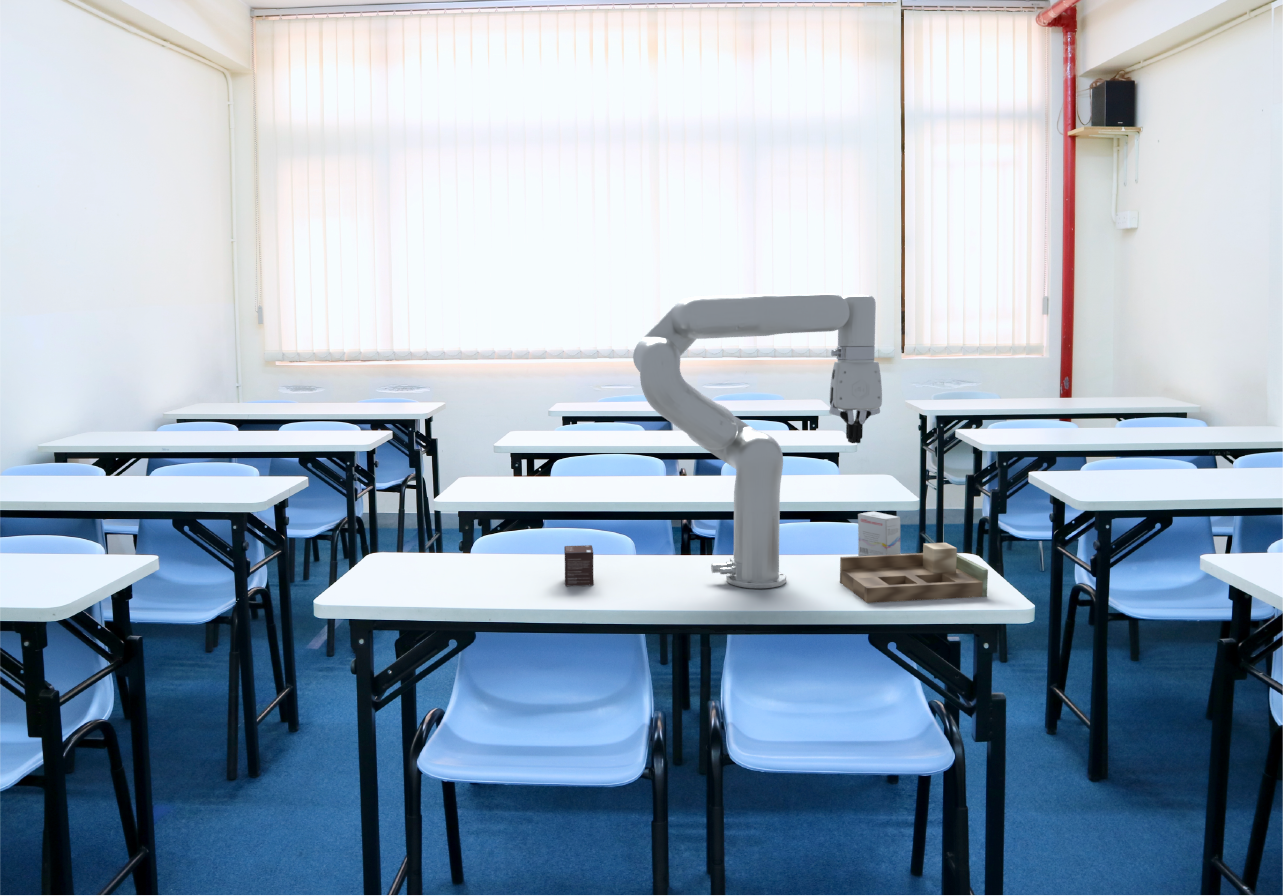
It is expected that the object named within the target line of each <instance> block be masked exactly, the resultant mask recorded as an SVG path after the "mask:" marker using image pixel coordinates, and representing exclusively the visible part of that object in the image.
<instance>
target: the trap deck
mask: <svg viewBox="0 0 1283 896" xmlns="http://www.w3.org/2000/svg"><path fill="white" fill-rule="evenodd" d="M839 564H840V565H839V568H840V569H839V583H840V584H841V585H842V584H843V585H842V586H844V587H845V588H847V589H848V590H849V591H851V592H852V593H853V594H854V595H855V596H857V597H858V598H859V599H861V600H862V601H863V602H865V603H867V604H870V603H871V604H873V603H874V604H875V603H890V602H891V603H892V602H893V603H894V602H895V603H896V602H908V601H909V602H910V601H926V600H927V601H929V600H931V601H932V600H948V599H964V598H965V599H967V598H968V599H969V598H987V597H988V578H989V569H987V568H986V567H983V566H981V565H979V564H978V563H976V562H974V561H972V560H970V559H968V558H966V557H964V556H962V555H960V554H959V553H957V561H956V572H944V573H932V572H931V571H929V570H927V569H925V568H924V567H923V552H921V553H919V552H917V553H900V554H896V555H873V556H858V555H855V556H854V555H853V556H852V555H851V556H840V561H839Z"/></svg>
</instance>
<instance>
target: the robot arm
mask: <svg viewBox="0 0 1283 896" xmlns="http://www.w3.org/2000/svg"><path fill="white" fill-rule="evenodd" d="M876 307H877V306H876V299H875V297H873V296H872V295H868V294H849V295H843V296H841V295H839V294H836V293H818V294H817V293H816V294H815V293H813V294H791V295H790V294H789V295H788V294H786V295H785V294H784V295H778V294H765V293H764V294H763V293H762V294H755V293H754V294H753V293H752V294H734V295H733V294H732V295H712V296H711V295H708V296H704V295H703V296H693V297H687V298H683V299H681V300H679V301H678V302H677V303H676V304H674V306H673V307H672V308H671V309H670V310H669V311H668V312H667V313H666V314H665V315H664V316H663V317H662V318H661V319H660V320H659V321H658V322H657V323H656V324H655V325H654V326H653V328H651V329H650V330H649V331H648V332H647V333H646V334H645V335H644V336H643V337H642V338H641V340H639V342H638V343H637V344H636V346H635V347H634V350H633V355H632V359H633V363H634V366H635V368H636V369H637V370H638V372H639V374H640V375H639V380H640V386H641V390H642V393H643V396H644V398H645V399H646V401H647V403H648V404H649V406H650V407H651V408H652V409H653V410H654V411H655V412H656V413H658V414H659V415H660V416H661V417H662V418H664V419H666V420H667V421H669V422H670V423H671V424H672V425H674V426H675V427H677V428H678V429H679V430H681V431H682V432H684V433H686V434H687V436H688V437H689V439H690V440H692V441H693V442H694V443H696V444H697V445H698V446H699V447H702V448H703V449H704V450H706V451H708V452H710V453H709V454H712V455H714V456H715V457H716V458H718V459H720V460H721V461H723V462H724V463H726V464H727V465H729V466H730V467H732V468H734V469H735V470H736V471H735V472H736V473H735V482H734V491H733V557H729V561H726V562H725V563H711V565H710V569H711V573H712V574H715V573H716V574H718V573H719V575H726V578H725V580H726V582H727V583H728V584H730V585H733V586H735V587H739V588H745V589H746V588H747V589H771V588H777V587H778V588H779V587H780V586H783V585H785V584H786V583H787V575H785V573H783V572H781V571H780V515H781V514H780V513H781V511H780V510H781V509H780V506H781V505H780V504H781V503H780V501H781V500H780V499H781V482H782V475H783V468H784V457H783V450H782V448H781V447H780V445H779V443H778V442H777V440H776V439H774V438H773V437H772V436H770V435H769V434H767V433H764V432H762V431H759V430H757V429H756V428H753V427H752V426H750V425H749V424H748V423H745V422H744V421H743V420H742V419H740V418H739V417H738V416H735V415H734V414H733V412H732V411H731V410H730V409H729V408H727V407H726V406H724V405H722V404H719V403H717V402H715V401H714V400H712V399H710V398H709V397H708V396H706V395H704V394H703V393H702V392H700V391H699V390H697V389H696V388H695V387H693V386H692V385H691V384H689V383H688V382H687V381H686V380H685V379H684V377H683V376H682V372H681V368H680V367H681V356H682V355H683V354H684V353H685V352H686V351H687V350H688V349H689V348H690V347H691V346H692V344H694V342H695V341H696V340H697V339H698V340H699V339H700V340H702V339H704V340H705V339H723V338H725V339H727V338H743V337H744V338H748V337H767V336H768V337H769V336H775V335H781V334H799V333H800V334H801V333H804V334H805V333H822V332H823V333H824V332H835V331H837V346H836V348H835V349H831V350H830V351H831V352H830V353H831V354H830V355H831V356H832V357H835V358H836V360H837V361H834V363H833V368H832V372H831V379H830V388H829V404H830V408H829V414H830V415H833V416H837V417H840V418H841V419H842V420H843V421H844V423H845V424H846V425H845V428H846V430H845V431H846V432H845V438H846V439H847V442H848V443H851V444H861V441H862V440H861V439H863V432H864V431H863V429H864V427H863V425H864V424H865V423H866V421H867V420H868V419H869V418H870V416H875V415H878V414H880V413H881V406H882V405H883V389H882V385H883V384H882V375H881V368H880V364H879V361H876V360H875V355H876V354H875V351H876V350H875V349H876V347H875V344H876V342H875V341H876ZM854 411H855V416H854Z"/></svg>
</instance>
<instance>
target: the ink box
mask: <svg viewBox="0 0 1283 896" xmlns="http://www.w3.org/2000/svg"><path fill="white" fill-rule="evenodd" d="M857 523H858V525H857V531H858V533H857V536H858V539H857V541H858V542H857V543H858V544H857V545H858V549H857V550H858V555H857V556H873V555H896V554H901V517H900V516H897V515H892V514H887V513H882V512H877V511H867V512H863V513H858V514H857Z"/></svg>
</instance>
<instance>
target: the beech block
mask: <svg viewBox="0 0 1283 896" xmlns="http://www.w3.org/2000/svg"><path fill="white" fill-rule="evenodd" d="M922 545H923V547H922V550H923V551H922V553H923V567H924V568H925V569H927V570H929V571H931V572H932V573H944V572H956V561H957V554H958V548H957V547H955V546H953V545H951V544H949V543H947V542H933V543H923V544H922Z"/></svg>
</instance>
